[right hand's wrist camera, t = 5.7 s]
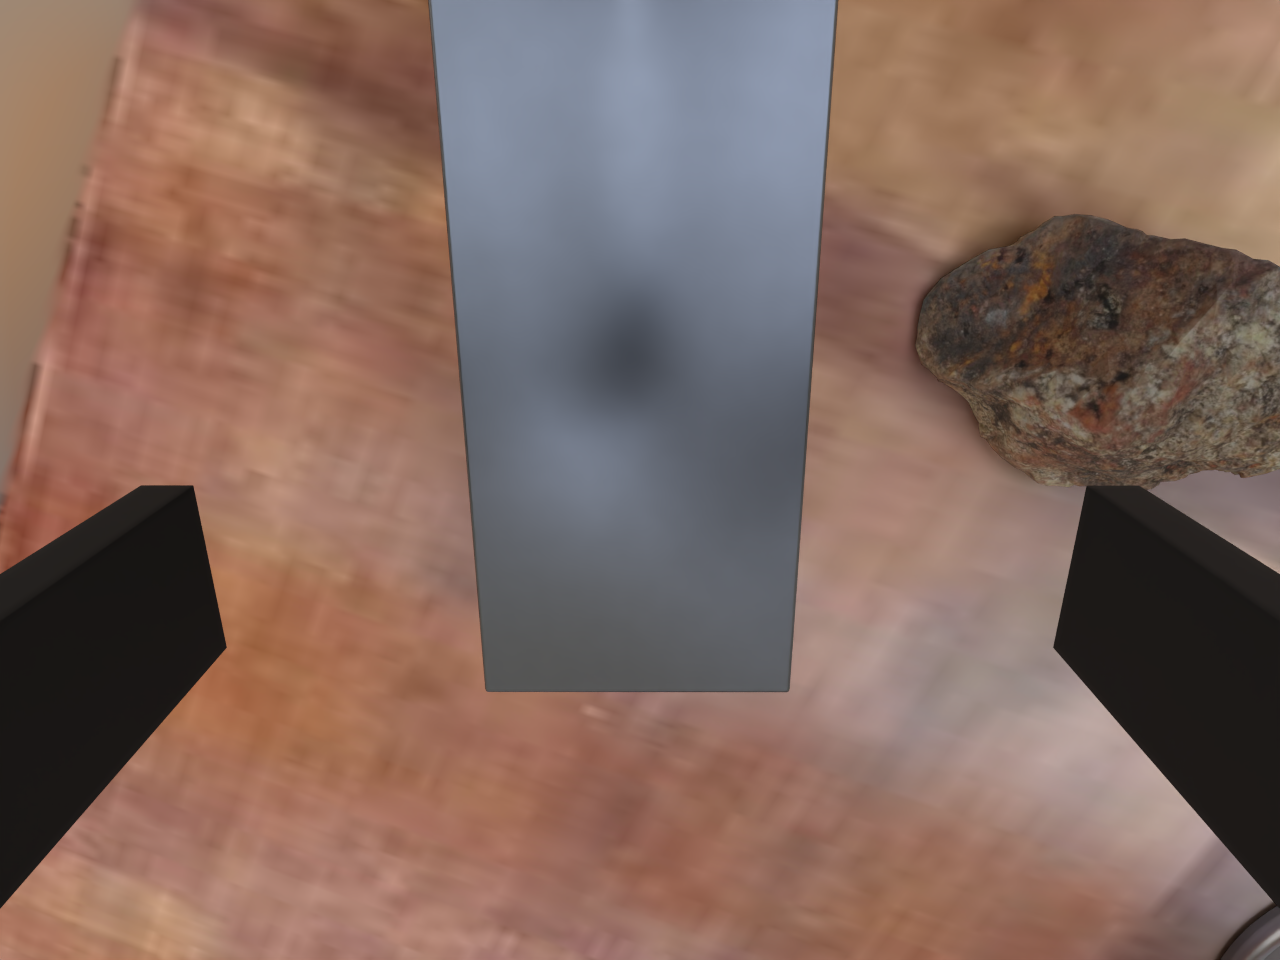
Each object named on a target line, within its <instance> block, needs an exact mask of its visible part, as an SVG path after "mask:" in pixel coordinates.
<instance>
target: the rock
mask: <svg viewBox="0 0 1280 960" xmlns="http://www.w3.org/2000/svg"><path fill="white" fill-rule="evenodd" d="M917 329H918V335H917V340H916V345H915V346H916V349H917V352H918V355H919V358H920V361H921V364H922V365H923V366H925V367H926V368H928V369H929V370H930V371H931V372H932V373H933V374H934V375H935V376H936V377H937V379H938V381H940V382H943V383H945V384H946V385H948V386H949V387H951V388H953V389H954V390H956V391H957V392H958V393H959V394H961V395H962V396H963V397H964V398H965V399H966V400H967V401H968V402H969V404H970V407H971V409H972V411H973V413H974V415H975V417H976V419H977V420H978V422H979V431H980V435H981V437H982V438H985V439H986V440H987V441H988V443H989V444H990V446H991V447H992V448H993V449H994V450H995V451H996V452H997V453H998V454H999V455H1000V456H1001V457H1002V458H1003V459H1005V460H1006V461H1008V462H1009V463H1010V464H1011V465H1012V466H1013V467H1015V468H1018V469H1020V470H1022V471H1024V472H1025V473H1026V474H1027V475H1028V476H1030V477H1031V478H1032V479H1034V480H1035V481H1036V482H1037V483H1040V484H1043V485H1046V486H1053V485H1057V486H1064V487H1070V486H1072V485H1078V486H1140V487H1142V488H1144V489H1145V490H1149V489H1152V488H1154V487H1156V486H1157V485H1159V483H1160V482H1165V481H1176V480H1179V479H1182V478H1185V477H1187V476H1188V475H1189V474H1193V473H1197V472H1200V471H1202V470H1219V471H1224V472H1231V473H1233V474H1234V475H1237V474H1239V475H1240V477H1241V478H1247V477H1252V476H1257V475H1261V474H1266V473H1269V472H1271V471H1274V470H1277V469H1280V267H1279V266H1277V265H1276V264H1274V263H1272V262H1270V261H1268V260H1259V259H1252V258H1250V257H1249V256H1247V255H1245V254H1243V253H1241V252H1239V251H1238V250H1234V249H1226V248H1220V247H1216V246H1212V245H1208V244H1204V243H1200V242H1196V241H1192V240H1188V239H1172V240H1171V239H1166V238H1162V237H1158V236H1152V235H1146V234H1145V233H1144V232H1143V231H1140V230H1137V229H1130V228H1126V227H1124V226H1122V225H1119V224H1117V223H1115V222H1113V221H1110V220H1107V219H1103V218H1100V217H1096V216H1092V215H1080V214H1073V215H1067V216H1054V217H1052V218H1051V219H1049V220H1048V221H1046V222H1044V223H1043V224H1042V225H1041V226H1040V227H1038V228H1037V229H1036V230H1034V231H1032V232H1029V233H1027V234H1026V235H1024V236H1022V237H1020V238H1019V240H1018V241H1017V242H1016V243H1014V244H1012V245H1010V246H1007V247H1001V248H996V249H990V250H987V251H985V252H984V253H982V254H980V255H978V256H976V257H975V258H973V259H971V260H969V261H968V262H966V263H965V264H963V265H961V266H960V267H958V268H957V269H955V270H953V271H952V272H950V273H949V274H947V275H946V276H944V277H943V278H941V279H940V280H939V282H938V283H937V284H936V285H935V286H934V287H933V289H932V290H931V291H930V292H929V294H928V295H927V296H926V297H925V299H924V301H923V305H922V309H921V313H920V317H919V322H918V327H917Z"/></svg>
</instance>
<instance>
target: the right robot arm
mask: <svg viewBox="0 0 1280 960" xmlns="http://www.w3.org/2000/svg"><path fill="white" fill-rule="evenodd" d="M226 648H227V647H226V642H225V637H224V632H223V627H222V622H221V618H220V613H219V608H218V603H217V598H216V593H215V589H214V584H213V579H212V574H211V569H210V564H209V559H208V555H207V550H206V545H205V540H204V535H203V530H202V526H201V521H200V516H199V511H198V506H197V501H196V497H195V492H194V487H193V486H140V487H138V488H136V489H135V490H133V491H132V492H130V493H128V494H127V495H125V496H124V497H122V498H120V499H119V500H117V501H116V502H114V503H113V504H111V505H109V506H108V507H106V508H105V509H103V510H101V511H100V512H98V513H97V514H95V515H94V516H92V517H90V518H89V519H87V520H86V521H84V522H82V523H81V524H79V525H78V526H76V527H74V528H73V529H71V530H70V531H68V532H67V533H65V534H63V535H62V536H60V537H59V538H57V539H55V540H54V541H52V542H51V543H49V544H47V545H46V546H44V547H43V548H41V549H40V550H38V551H36V552H35V553H33V554H32V555H30V556H28V557H27V558H25V559H24V560H22V561H20V562H19V563H17V564H16V565H14V566H13V567H11V568H9V569H8V570H6V571H5V572H3V573H1V574H0V908H1V907H2V906H3V905H4V904H5V903H6V901H7V900H8V899H9V898H10V897H11V896H12V894H13V893H14V892H15V891H16V890H17V889H18V888H19V886H20V885H21V884H22V883H23V882H24V881H25V879H26V878H27V877H28V876H29V875H30V874H31V873H32V871H33V870H34V869H35V868H36V867H37V866H38V864H39V863H40V862H41V861H42V860H43V859H44V858H45V856H46V855H47V854H48V853H49V852H50V851H51V849H52V848H53V847H54V846H55V845H56V844H57V843H58V841H59V840H60V839H61V838H62V837H63V836H64V835H65V833H66V832H67V831H68V830H69V829H70V828H71V826H72V825H73V824H74V823H75V822H76V821H77V820H78V818H79V817H80V816H81V815H82V814H83V813H84V811H85V810H86V809H87V808H88V807H89V806H90V805H91V803H92V802H93V801H94V800H95V799H96V798H97V796H98V795H99V794H100V793H101V792H102V791H103V790H104V788H105V787H106V786H107V785H108V784H109V783H110V781H111V780H112V779H113V778H114V777H115V776H116V775H117V773H118V772H119V771H120V770H121V769H122V768H123V767H124V765H125V764H126V763H127V762H128V761H129V760H130V758H131V757H132V756H133V755H134V754H135V753H136V752H137V750H138V749H139V748H140V747H141V746H142V745H143V743H144V742H145V741H146V740H147V739H148V738H149V737H150V735H151V734H152V733H153V732H154V731H155V730H156V728H157V727H158V726H159V725H160V724H161V723H162V722H163V720H164V719H165V718H166V717H167V716H168V715H169V713H170V712H171V711H172V710H173V709H174V708H175V707H176V705H177V704H178V703H179V702H180V701H181V700H182V699H183V697H184V696H185V695H186V694H187V693H188V692H189V690H190V689H191V688H192V687H193V686H194V685H195V684H196V682H197V681H198V680H199V679H200V678H201V677H202V675H203V674H204V673H205V672H206V671H207V670H208V669H209V667H210V666H211V665H212V664H213V663H214V662H215V660H216V659H217V658H218V657H219V656H220V655H221V654H222V652H223V651H224V650H225V649H226ZM1053 648H1054V649H1055V650H1056V651H1057V652H1058V654H1059V655H1060V656H1061V657H1062V658H1063V659H1064V660H1065V662H1066V663H1067V664H1068V665H1069V666H1070V667H1071V669H1072V670H1073V671H1074V672H1075V673H1076V674H1077V675H1078V677H1079V678H1080V679H1081V680H1082V681H1083V682H1084V684H1085V685H1086V686H1087V687H1088V688H1089V689H1090V690H1091V692H1092V693H1093V694H1094V695H1095V696H1096V697H1097V699H1098V700H1099V701H1100V702H1101V703H1102V704H1103V705H1104V707H1105V708H1106V709H1107V710H1108V711H1109V712H1110V713H1111V715H1112V716H1113V717H1114V718H1115V719H1116V720H1117V722H1118V723H1119V724H1120V725H1121V726H1122V727H1123V728H1124V730H1125V731H1126V732H1127V733H1128V734H1129V735H1130V737H1131V738H1132V739H1133V740H1134V741H1135V742H1136V743H1137V745H1138V746H1139V747H1140V748H1141V749H1142V750H1143V752H1144V753H1145V754H1146V755H1147V756H1148V757H1149V758H1150V760H1151V761H1152V762H1153V763H1154V764H1155V765H1156V767H1157V768H1158V769H1159V770H1160V771H1161V772H1162V773H1163V775H1164V776H1165V777H1166V778H1167V779H1168V780H1169V781H1170V783H1171V784H1172V785H1173V786H1174V787H1175V788H1176V790H1177V791H1178V792H1179V793H1180V794H1181V795H1182V796H1183V798H1184V799H1185V800H1186V801H1187V802H1188V803H1189V805H1190V806H1191V807H1192V808H1193V809H1194V810H1195V811H1196V813H1197V814H1198V815H1199V816H1200V817H1201V818H1202V820H1203V821H1204V822H1205V823H1206V824H1207V825H1208V826H1209V828H1210V829H1211V830H1212V831H1213V832H1214V833H1215V835H1216V836H1217V837H1218V838H1219V839H1220V840H1221V841H1222V843H1223V844H1224V845H1225V846H1226V847H1227V848H1228V849H1229V851H1230V852H1231V853H1232V854H1233V855H1234V856H1235V858H1236V859H1237V860H1238V861H1239V862H1240V863H1241V864H1242V866H1243V867H1244V868H1245V869H1246V870H1247V871H1248V873H1249V874H1250V875H1251V876H1252V877H1253V878H1254V879H1255V881H1256V882H1257V883H1258V884H1259V885H1260V886H1261V888H1262V889H1263V890H1264V891H1265V892H1266V893H1267V894H1268V896H1269V897H1270V898H1271V899H1272V900H1273V901H1274V903H1275V904H1276V905H1277V906H1276V907H1275V908H1273V909H1272V910H1270V911H1269V912H1267V913H1266V914H1264V915H1263V916H1262V917H1260V918H1259V919H1258V920H1256V921H1255V922H1254V923H1253V924H1251V925H1250V926H1249V927H1248V928H1247V929H1246V930H1245V931H1244V932H1243V933H1242V934H1241V935H1240V936H1239V937H1238V938H1237V939H1236V940H1235V941H1234V942H1233V943H1232V944H1231V946H1230V947H1229V948H1228V950H1227V951H1226V952H1225V954H1224V955H1223V957H1222V958H1221V960H1280V574H1279V573H1277V572H1275V571H1274V570H1272V569H1271V568H1269V567H1267V566H1266V565H1264V564H1263V563H1261V562H1260V561H1258V560H1256V559H1255V558H1253V557H1252V556H1250V555H1248V554H1247V553H1245V552H1244V551H1242V550H1240V549H1239V548H1237V547H1236V546H1234V545H1233V544H1231V543H1229V542H1228V541H1226V540H1225V539H1223V538H1221V537H1220V536H1218V535H1217V534H1215V533H1213V532H1212V531H1210V530H1209V529H1207V528H1206V527H1204V526H1202V525H1201V524H1199V523H1198V522H1196V521H1194V520H1193V519H1191V518H1190V517H1188V516H1186V515H1185V514H1183V513H1182V512H1180V511H1179V510H1177V509H1175V508H1174V507H1172V506H1171V505H1169V504H1167V503H1166V502H1164V501H1163V500H1161V499H1160V498H1158V497H1156V496H1155V495H1153V494H1152V493H1150V492H1148V491H1147V490H1145V489H1144V488H1142V487H1140V486H1087V487H1086V492H1085V497H1084V501H1083V506H1082V511H1081V516H1080V521H1079V526H1078V530H1077V535H1076V540H1075V545H1074V550H1073V555H1072V559H1071V564H1070V569H1069V574H1068V579H1067V584H1066V589H1065V593H1064V598H1063V603H1062V608H1061V613H1060V618H1059V622H1058V627H1057V632H1056V637H1055V642H1054V647H1053Z"/></svg>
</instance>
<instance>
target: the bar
mask: <svg viewBox="0 0 1280 960" xmlns="http://www.w3.org/2000/svg"><path fill="white" fill-rule="evenodd" d="M428 4H429V16H430V28H431V40H432V52H433V64H434V76H435V88H436V100H437V112H438V124H439V136H440V148H441V161H442V173H443V185H444V197H445V209H446V221H447V233H448V245H449V257H450V269H451V281H452V293H453V305H454V317H455V329H456V341H457V353H458V365H459V377H460V389H461V401H462V413H463V425H464V437H465V449H466V461H467V474H468V486H469V498H470V510H471V522H472V534H473V546H474V558H475V570H476V582H477V594H478V606H479V618H480V630H481V642H482V654H483V666H484V678H485V689H486V691H488V692H788V691H789V689H790V675H791V661H792V647H793V633H794V619H795V605H796V591H797V577H798V562H799V548H800V534H801V520H802V506H803V492H804V478H805V463H806V449H807V435H808V421H809V407H810V393H811V379H812V364H813V350H814V336H815V322H816V308H817V294H818V280H819V265H820V251H821V237H822V223H823V209H824V195H825V181H826V167H827V152H828V138H829V124H830V110H831V96H832V82H833V68H834V53H835V39H836V25H837V11H838V0H428Z"/></svg>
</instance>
